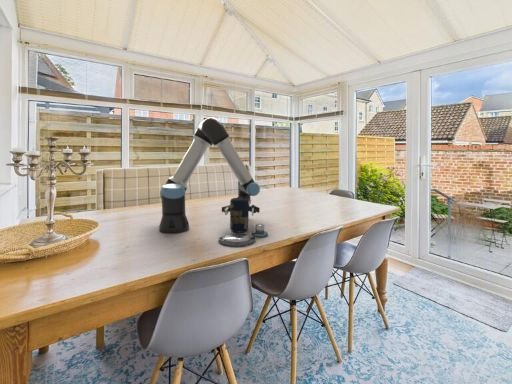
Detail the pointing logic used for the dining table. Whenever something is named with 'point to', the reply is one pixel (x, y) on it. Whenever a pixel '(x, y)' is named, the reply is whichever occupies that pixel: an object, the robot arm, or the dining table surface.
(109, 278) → the dining table surface
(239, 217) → the canister
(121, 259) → the dining table surface
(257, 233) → the flange small
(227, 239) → the flange wide
